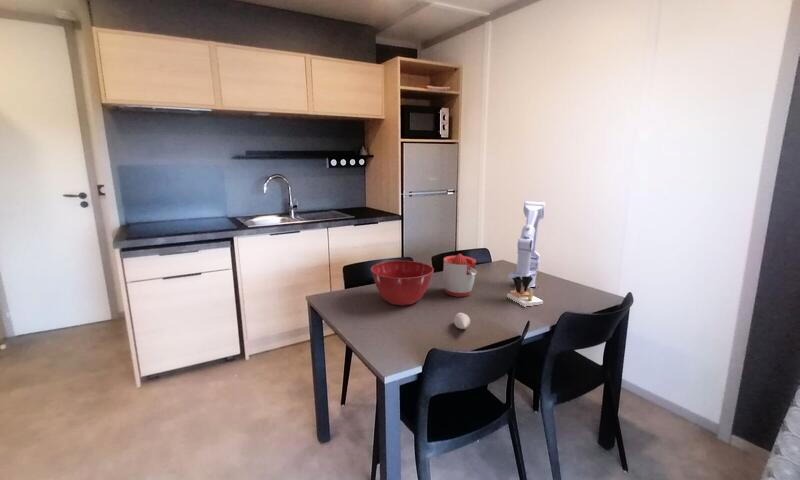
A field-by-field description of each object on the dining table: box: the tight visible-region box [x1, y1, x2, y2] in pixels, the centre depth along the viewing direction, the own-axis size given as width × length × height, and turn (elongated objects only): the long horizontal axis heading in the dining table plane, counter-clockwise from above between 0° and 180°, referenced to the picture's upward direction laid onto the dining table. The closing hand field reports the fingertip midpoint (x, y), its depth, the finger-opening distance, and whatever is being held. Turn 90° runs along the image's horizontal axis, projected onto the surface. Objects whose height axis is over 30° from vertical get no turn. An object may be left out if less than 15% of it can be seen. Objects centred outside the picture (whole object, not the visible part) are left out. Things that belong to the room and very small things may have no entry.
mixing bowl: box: [370, 260, 434, 306], centre depth 177 cm, size 28×28×16 cm
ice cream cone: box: [453, 312, 471, 330], centre depth 148 cm, size 6×6×15 cm
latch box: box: [506, 293, 544, 308], centre depth 180 cm, size 13×10×2 cm
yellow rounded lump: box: [520, 288, 534, 301], centre depth 176 cm, size 6×6×5 cm
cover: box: [509, 285, 529, 298], centre depth 182 cm, size 7×7×5 cm
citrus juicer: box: [442, 253, 478, 298], centre depth 186 cm, size 16×17×20 cm
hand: (521, 291), depth 182 cm, fingers open, 3 cm apart
